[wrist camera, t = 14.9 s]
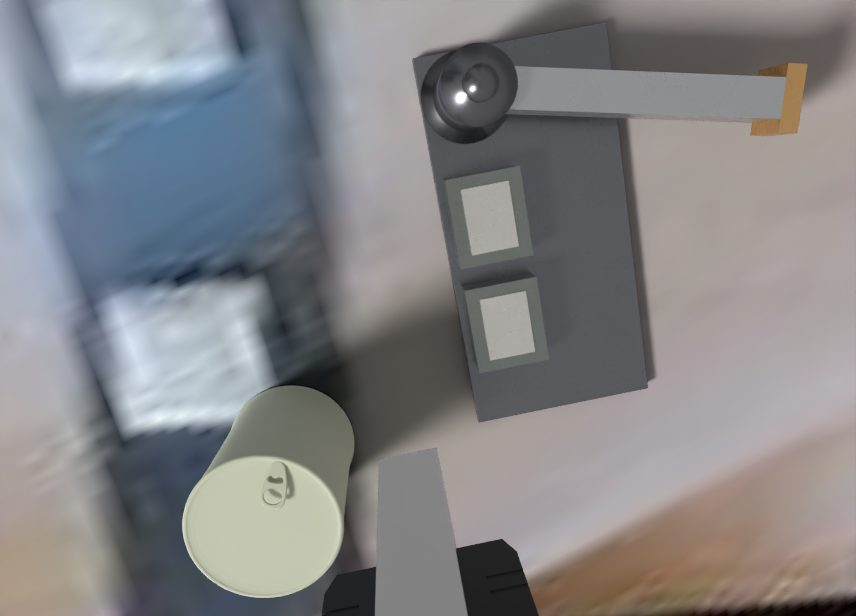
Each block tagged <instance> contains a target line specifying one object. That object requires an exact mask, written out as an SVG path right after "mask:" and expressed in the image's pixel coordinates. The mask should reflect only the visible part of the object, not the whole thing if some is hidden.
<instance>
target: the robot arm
mask: <svg viewBox="0 0 856 616" xmlns="http://www.w3.org/2000/svg"><path fill="white" fill-rule="evenodd" d="M322 616H539V615H538V612H537V609H536V606H535V603H534V600H533V597H532V595H531V592H530V589H529V587H528V583H527V580H526V577H525V574H524V572H523V568H522V565H521V563H520V560H519V557H518V554H517V551H515V550H514V549H513V548H512V547H511V546H510V545H508V544H507V543H506V542H505V541H504V540H503V539H499V540H494V541H490V542H485V543H480V544H475V545H470V546H466V547H461V548H457V547H456V542H455V537H454V532H453V527H452V522H451V517H450V512H449V507H448V502H447V497H446V492H445V487H444V482H443V477H442V472H441V467H440V462H439V457H438V452H437V448H432V449H427V450H422V451H417V452H412V453H407V454H402V455H397V456H392V457H388V458H383V459H379V475H378V515H377V554H376V567H373V568H369V569H364V570H359V571H354V572H349V573H345V574H340V575H337V576H336V577H335V579H334V580H333V582H332V583H331V585H330V586H329V588H328V589H327V591H326V592H325V595H324V602H323V609H322Z"/></svg>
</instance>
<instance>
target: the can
mask: <svg viewBox="0 0 856 616" xmlns="http://www.w3.org/2000/svg"><path fill="white" fill-rule="evenodd" d="M353 454H354V434H353V429H352V426H351V424H350V421H349V419H348V417H347V415H346V414H345V412H344V411H343V410H342V408H341V407H340V406H339V405H338V404H337V403H336V402H335V401H333V400H332V399H331V398H330V397H328V396H327V395H325V394H323V393H321V392H319V391H317V390H314V389H311V388H308V387H303V386H292V385H289V386H280V387H275V388H271V389H269V390H266V391H264V392H262V393H260V394H258V395H256V396H255V397H253V398H252V399H251V400H250V401H248V402H247V403H246V404H245V405H244V407H243V408H242V409H241V410H240V412H239V413H238V415H237V416H236V418H235V420H234V423H233V425H232V429H231V431H230V433H229V435H228V436H227V438H226V440H225V441H224V443H223V445H222V447H221V448H220V450H219V451H218V453H217V455H216V456H215V458H214V460H213V461H212V463H211V465H210V466H209V468H208V469H207V471H206V472H205V474H204V476H203V477H202V479H201V480H200V481H199V482H198V483H197V484H196V486H195V487H194V489H193V490H192V492H191V494H190V496H189V498H188V500H187V503H186V505H185V509H184V514H183V523H182V528H183V536H184V541H185V544H186V547H187V550H188V552H189V554H190V557H191V558H192V560H193V561H194V563H195V564H196V566H197V567H198V568H199V569H200V570H201V572H202V573H203V574H204V575H206V576H207V577H208V578H209V579H210V580H211V581H213V582H214V583H216V584H217V585H219V586H221V587H222V588H224V589H226V590H229V591H231V592H234V593H237V594H240V595H244V596H249V597H257V598H271V597H279V596H284V595H288V594H291V593H294V592H297V591H299V590H301V589H303V588H305V587H307V586H309V585H311V584H312V583H314V582H315V581H316V580H318V579H319V578H320V577H321V576H322V575H323V574H324V573H325V572H326V571H327V570H328V569H329V567H330V566H331V565H332V563H333V562H334V560H335V558H336V556H337V554H338V552H339V550H340V547H341V544H342V539H343V534H344V509H345V500H346V491H347V483H348V475H349V468H350V464H351V461H352V458H353Z"/></svg>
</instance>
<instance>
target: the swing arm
mask: <svg viewBox="0 0 856 616" xmlns="http://www.w3.org/2000/svg"><path fill="white" fill-rule="evenodd" d="M807 65H808V64H803V63H786V64H783V65H779V66H775V67H771V68H768V69H764V70H760V71H759V74H758V76H747V75H722V74H697V73H673V72H648V71H623V70H598V69H573V68H549V67H524V66H514V64H513V62H512V61H511V59H510V58H509V57H508V55H507V54H506V53H505V52H503V51H502V50H501V49H499V48H498V47H496V46H493V45H491V44H487V43H473V44H469V45H466V46H464V47H462V48H460V49H459V50H457V51H456V52H455V53H454V54H453V55H452V56H451V57H450V58H449V60H448V61H447V63H446V65H445V66H444V68H443V70H442V72H441V74H440V75H439V77H438V79H437V81H436V84H435V87H434V93H433V100H434V106H435V109H436V111H437V113H438V115H439V117H440V118H441V119H442V120H443V121H444V122H445V123H446V124H447V125H448V126H450V127H452V128H454V129H456V130H460V131H472V130H476V129H479V128H481V127H483V126H485V125H487V124H490V123H492V122H494V121H496V120H498V119H499V118H501V117H502V116H503V115H505V114H517V115H545V116H574V117H603V118H631V119H660V120H689V121H718V122H746V123H752V126H751V134H750V135H754V136H773V135H783V134H794V133H797V132H798V126H799V119H800V112H801V105H802V99H803V92H804V85H805V79H806V72H807Z"/></svg>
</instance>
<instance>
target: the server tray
mask: <svg viewBox="0 0 856 616" xmlns="http://www.w3.org/2000/svg"><path fill="white" fill-rule="evenodd" d="M491 45H493V46H496V47H498V48H499V49H501V50H502V51H503V52H505V53H506V54H507V55H508V57H509V58H510V59H511V61H512V62H513V64H514V66H524V67H549V68H573V69H598V70H612V68H611V59H610V50H609V41H608V33H607V24H606V22H604V23H599V24H593V25H588V26H583V27H577V28H572V29H567V30H562V31H556V32H551V33H546V34H540V35H535V36H530V37H524V38H519V39H514V40H509V41H503V42H498V43H493V44H491ZM458 50H459V49H458ZM456 51H457V50H454V51H450V52H445V53H440V54H435V55H429V56H424V57H419V58H413V60H412V62H413V67H414V73H415V78H416V84H417V89H418V95H419V100H420V106H421V111H422V117H423V122H424V128H425V133H426V139H427V144H428V150H429V155H430V161H431V166H432V172H433V177H434V183H435V188H436V194H437V199H438V205H439V210H440V215H441V221H442V226H443V232H444V237H445V243H446V248H447V254H448V259H449V265H450V270H451V276H452V281H453V287H454V292H455V298H456V303H457V309H458V314H459V320H460V325H461V331H462V336H463V342H464V347H465V353H466V358H467V364H468V369H469V375H470V380H471V386H472V391H473V397H474V402H475V408H476V413H477V419H478V421H479V422H483V421H488V420H493V419H498V418H503V417H508V416H513V415H518V414H523V413H528V412H533V411H538V410H542V409H547V408H552V407H557V406H562V405H567V404H572V403H577V402H582V401H587V400H592V399H597V398H601V397H606V396H611V395H616V394H621V393H626V392H631V391H636V390H641V389H646V388H648V385H647V376H646V367H645V358H644V350H643V341H642V332H641V323H640V314H639V306H638V297H637V288H636V279H635V270H634V262H633V253H632V244H631V235H630V226H629V218H628V209H627V200H626V191H625V182H624V174H623V165H622V156H621V147H620V138H619V129H618V121H617V118H603V117H574V116H545V115H517V114H505V115H503V116H502V117H501V118H499V119H498V120H496V121H494V122H492V123H490V124H487V125H485V126H483V127H481V128H479V129H476V130H472V131H460V130H456V129H454V128H452V127H450V126H448V125H447V124H446V123H445V122H444V121H443V120H442V119H441V118H440V117H439V115H438V113H437V111H436V109H435V106H434V100H433V93H434V87H435V84H436V81H437V79H438V77H439V75H440V74H441V72H442V70H443V68H444V66H445V65H446V63H447V61H448V60H449V58H450V57H451V56H452V55H453V54H454V53H455V52H456Z"/></svg>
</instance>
